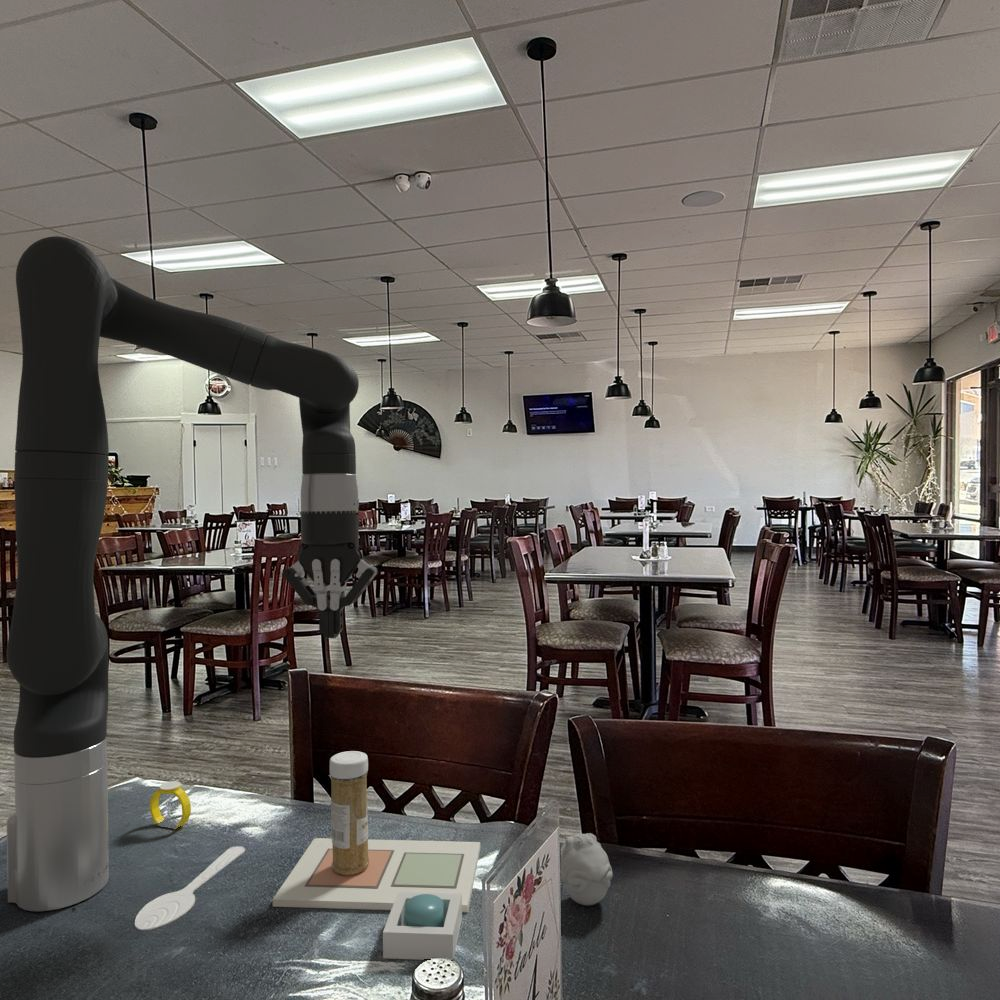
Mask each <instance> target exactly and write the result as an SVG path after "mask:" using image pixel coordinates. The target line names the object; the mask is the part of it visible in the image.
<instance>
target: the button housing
mask: <svg viewBox="0 0 1000 1000" xmlns="http://www.w3.org/2000/svg"><path fill="white" fill-rule="evenodd" d="M421 894H431V895H435V896H438V897H439V898H441V899H442V901H443V916H444V926H443V927H419V926H405V903H406V902H407V901H408V900H409V899H410V898H412V897H414V896H417V895H421ZM462 921H463V912H462V894H444V893H410V892H398V894H397V896H396V899H395V902H394V904H393V907H392V910H390V912H389V915H388V917H387V921H386V923H385V924H384V925H385V926H384V929H383V931H382V958H383V959H390V960H392V959H393V960H394V959H395V960H416V961H418V960H423V961H425V960H424V959H428V958H432V957H444V958H450V959H455V955H456V949H457V945H458V941H459V940H458V939H459V936H460V935H459V934H460V930H461V925H462Z"/></svg>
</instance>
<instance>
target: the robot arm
mask: <svg viewBox="0 0 1000 1000" xmlns="http://www.w3.org/2000/svg"><path fill="white" fill-rule="evenodd" d="M109 274H110V273H109V271H108V270H107V269H106V266H105V264H104V263H103V262H102V261H101V259H100V258H99V257H98V256H97V255H96V254H95V253H94V252H93V251H92V250H91V249H90V248H89V247H87V246H85V244H82V243H81V242H79V241H77V240H75V239H72V238H71V237H70V238H69V237H67V236H66V237H65V236H59V235H58V236H57V235H55V236H48V237H44V238H40V239H39V240H37V241H34V242H33V243H31V244H30V245H29V246H28V247H27V248H26V250H25V251H24V252H23V253H22V255H21V256H20V258H19V260H18V263H17V266H16V271H15V285H16V286H15V287H16V294H17V301H18V311H19V321H20V322H19V324H20V335H21V347H22V348H21V351H22V361H21V362H22V366H21V375H20V384H19V394H18V406H17V415H16V416H17V417H16V418H17V419H16V420H17V421H16V433H15V444H14V445H15V447H14V449H15V450H14V451H15V452H14V479H13V480H14V482H13V483H14V486H13V487H14V516H15V517H14V519H15V521H14V522H15V524H14V525H15V539H16V541H15V542H16V552H17V553H16V554H17V576H16V577H17V578H16V587H15V595H14V602H13V603H14V604H13V608H12V610H13V611H12V617H11V621H10V622H11V624H10V628H9V634H8V639H7V640H8V641H7V646H6V663H7V666H8V669H9V671H10V673H11V675H12V676H13V678H14V680H15V681H16V682H17V683H18V684H19V698H18V699H19V701H18V709H17V716H16V721H15V725H14V728H13V729H14V730H13V760H14V761H13V762H14V766H13V767H14V768H13V770H14V814H12V815H11V816H9V817H8V818H7V820H6V855H7V856H6V865H7V866H6V867H7V869H6V870H7V877H6V878H7V879H6V880H7V903H12V904H13V903H14V904H16V905H17V906H18V907H19V908H20V909H22V910H24V911H27V912H28V911H29V912H45V911H47V912H48V911H54V910H60V909H63V908H66V907H71V906H72V905H75V904H79V903H80V902H81V903H82V901H85V900H87V899H90V898H91V897H92V896H94V895H96V894H97V893H98V892H100V891H101V890H102V889H104V887H105V886H106V885H107V884H108V882H109V877H110V869H109V866H110V861H109V805H108V804H109V802H108V801H109V799H108V798H109V797H108V792H109V791H108V790H109V789H108V788H109V787H108V785H109V784H108V742H107V739H108V737H107V732H108V731H107V728H108V727H107V726H108V725H107V724H108V723H107V722H108V711H109V710H108V709H109V637H108V631H107V628H106V626H105V623H104V621H103V620H102V619H101V617H100V616H99V615H98V614H97V613H96V606H95V590H94V588H95V587H94V586H95V585H94V573H95V572H94V571H95V561H96V555H97V552H98V550H97V549H98V545H99V541H100V536H101V532H102V527H103V523H104V517H105V512H106V505H107V497H108V489H109V488H108V487H109V462H110V461H109V455H110V454H109V453H110V452H109V451H110V450H109V449H110V448H109V447H110V446H109V434H108V424H107V417H106V410H105V405H104V398H103V394H102V393H103V392H102V388H101V383H100V382H101V380H100V374H99V347H100V338H104V339H109V340H112V341H113V340H114V341H118V342H123V343H125V344H129V345H134V346H138V347H141V348H144V349H148V350H152V351H154V352H155V351H156V352H157V353H161V354H163V355H167V356H170V357H173V358H175V359H178V360H180V361H183V362H186V363H189V364H191V365H194V366H197V367H198V368H201V369H205V370H207V371H210V372H211V373H215V374H217V375H221V376H222V377H226V378H229V379H232V380H233V381H237V382H240V383H243V384H246V385H247V386H251V387H253V388H256V389H260V390H264V391H279V392H282V393H285V394H287V395H290V396H293V397H296V398H298V401H299V402H298V403H299V414H300V415H299V416H300V421H301V431H302V444H301V445H302V447H301V456H302V457H301V461H302V462H301V467H302V468H301V469H302V470H301V471H302V473H301V474H302V476H301V486H300V536H301V537H300V541H301V543H300V544H301V549H300V551H299V553H298V556H297V561H296V562H294V564H292V565H291V566H290V567H286V568H284V569H283V571H282V576H283V577H284V578H285V579H286V581H287V582H288V584H289V585H290V586H291V587H292V589H293V590H294V592H295V593H296V594H297V595H298V596H299V598H300V599H301V600H302V602H303V603H304V605H306V606H307V607H308V606H310V607H314V608H316V609H317V610H318V630H319V633H320V634H321V635H322V636H323V638H324V639H336V638H337V637H339V634H340V633H343V632H342V631H343V630H344V615H343V614H344V608H345V607H348V606H350V605H352V604H355V603H356V602H357V600H358V599H359V598H360V597H361V595H362V594H363V593H364V591H365V590H366V589H367V588H368V587H369V585H370V583H371V582H372V581H373V580H374V578H375V577H376V576H377V574H378V573H379V569H378V568H377V567H376V566H372V565H370V564H368V562H366V561H365V560H364V557H363V552H362V551H361V549H360V545H359V544H360V543H359V542H360V541H359V539H360V537H359V536H360V533H359V531H360V529H359V526H360V525H359V507H360V500H359V489H358V488H359V487H358V484H357V464H356V463H357V455H356V452H357V451H356V443H355V438H354V435H353V434H352V433H351V415H350V414H351V413H350V411H351V410H350V409H351V407H350V406H351V403H352V402H353V401H354V399H355V398H356V396H357V394H358V392H359V383H360V382H359V378H358V377H359V376H358V375H357V372H356V370H355V368H354V367H353V366H352V365H351V364H350V363H349V362H348V361H347V360H345V359H343V358H342V357H339V356H338V355H335V354H333V353H330V352H327V351H325V350H321V349H317V348H314V347H310V346H306V345H302V344H298V343H293V342H288V341H284V340H282V339H279V338H278V337H275V336H273V335H271V334H267V333H266V332H263V331H261V330H258V329H255V328H253V327H250V326H248V325H246V324H242V323H240V322H237V321H234V320H232V319H228V318H225V317H222V316H217V315H214V314H209V313H206V312H205V313H204V312H201V311H195V310H191V309H188V308H187V309H185V308H182V307H179V306H175V305H171V304H168V303H165V302H163V301H162V302H161V301H160V300H156V299H154V298H151V297H149V296H148V295H147V296H146V295H145V294H142V293H140V292H139V291H136V290H134V289H132V288H131V287H128V286H126V285H125V284H123V283H121V282H119V281H117V280H116V279H114V278H113V277H111V276H110V275H109ZM357 569H358V570H357ZM356 570H357V572H356V577H357V578H358V580H357V581H356V582H355V583H354V584H353V586H352V587H351V589H350V590H349V591H348V592H347V594H346V590H347V583H348V581H349V580H350V579H351V577H352V576H353V574H354V573H355V571H356ZM305 572H306V574H307V576H308V577H309V578H310V580H311V581H312V582H313V584H314V588H313V587H312V586H311V584H310V583H309V582H308V581H307V580H306V578H305V575H306V574H305ZM345 594H346V595H345Z"/></svg>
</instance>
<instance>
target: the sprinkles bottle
mask: <svg viewBox="0 0 1000 1000" xmlns="http://www.w3.org/2000/svg"><path fill="white" fill-rule="evenodd" d="M368 771H369V758H368V755H367V754H366V752H362V751H358V750H349V751H342V752H339V753H336V754H334V755H332V756H331V757H330V759H329V775H330V779H331V781H330V782H331V784H330V785H331V786H330V788H331V789H330V790H331V792H330V793H331V799H330V815H331V816H330V817H331V820H330V821H331V822H330V823H331V839H332V844H333V862H332V869H333V871H334V872H336V873H338V874H341V875H353V874H357V873H360V872H362V871H363V870H365V869H366V868H367V867H368V865H369V857H368V839H369V823H368V821H369V818H368V817H369V816H368V815H369V814H368V811H369V810H368V789H367V780H368V779H367V776H368Z"/></svg>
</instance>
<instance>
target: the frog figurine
mask: <svg viewBox="0 0 1000 1000" xmlns="http://www.w3.org/2000/svg"><path fill="white" fill-rule="evenodd" d="M560 850H561V876H560V881H561V883H562V884H563V887H564V889H565V890H566V893H567V894H568V895H569V897H570V898H571V899H572V900H573V901H574V902H576V903H577V904H579V905H582V906H593V905H596V904H598V903H599V902H600V901H602V899H604V897H605V896H606V894H607V891H608V889H609V888H610V887H611V880H612V879H613V876H614V875H613V874H614V873H613V869H612V866H611V864H610V861H609V857H608V854H607V853H606V851H605V850H604V848H603V847H602V845H601V843H600V842H598V841H597V836H596V835H594V834H593V833H591V832H589V833H588V832H587V833H576V834H574V835H573V836H572V835H570V836H567V837H566V839H565V841H564V843H563V845H562V847H561V848H560Z"/></svg>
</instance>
